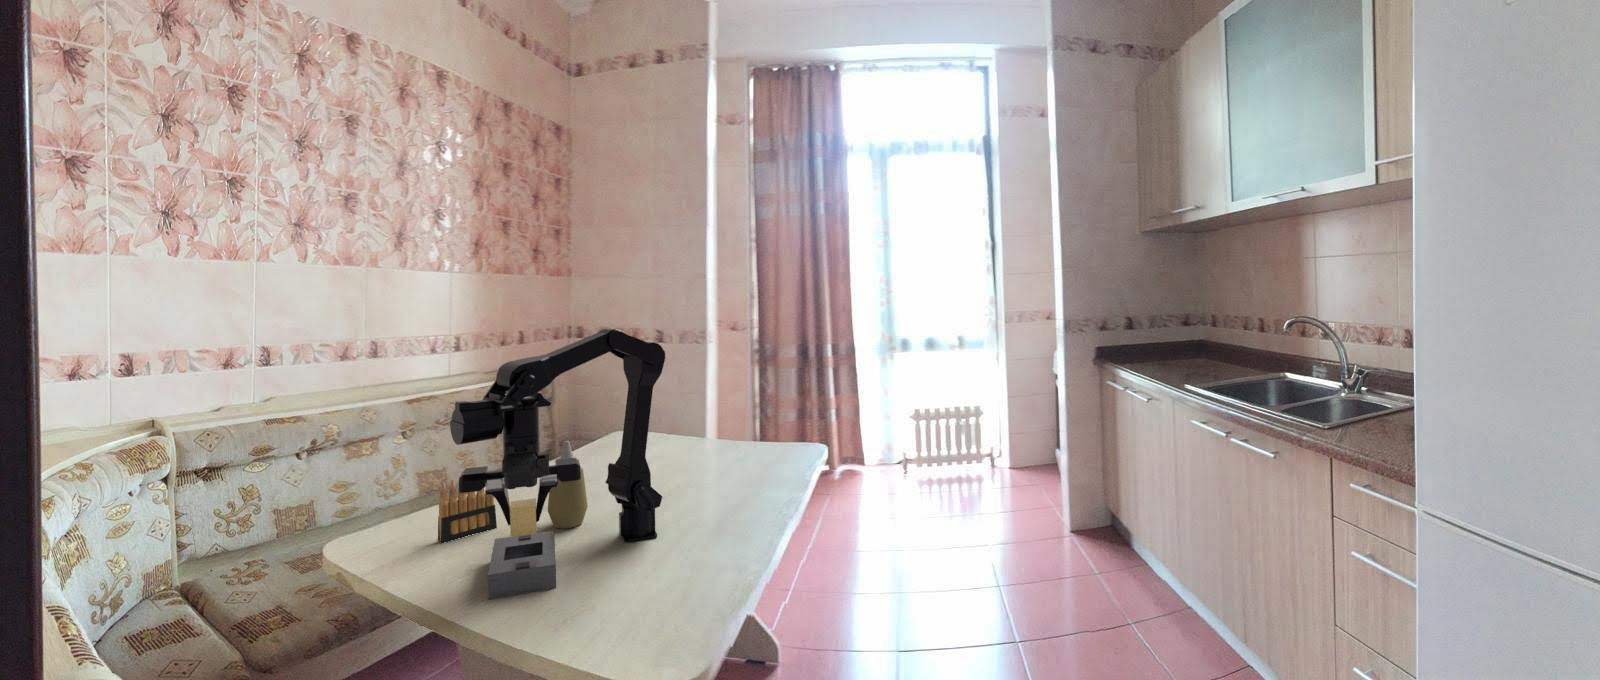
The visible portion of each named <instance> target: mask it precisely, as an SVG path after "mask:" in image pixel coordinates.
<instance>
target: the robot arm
mask: <svg viewBox="0 0 1600 680" xmlns="http://www.w3.org/2000/svg"><path fill="white" fill-rule="evenodd" d="M665 351H666V350H665V349H664V348H663V347H662V346H661V344H659V343H657V342H652V341H651V342H650V341H645V340H642V339H640V338H637V337H634V336H631V335H630V334H626V333H625V332H623V331H621V330H620V329H615V328H602V329H600V330H599V331H598V332H596V333H594V334H591V335H588V336H586V337H584V338H582V339H580V340H577V341H575V342H573V343H570V344H569V343H568V344H567V345H565V346H562V347H560V348H558V349H555V350H553V351H550V352H548V353H545V354H541V355H536V356H531V357H530V356H529V357H524V358H520V359H515V360H511V361H506V362H505V363H503V364H502V365H501V366H499V368H498V371H497V373H496V376H495V377H496V379H495V381H494V382H493V384H492V385H491V387H490V388H489V389H488V390H487V392H486V394H485V395H484V396H483V397H482V400H481V399H479V400H471V401H468V400H467V401H466V400H461V401H455V403H454V409H453V411H452V414H451V420H450V421H449V428H450V430H449V431H450V435H451V438H452V441H453V442H454V443H455V444H456V445H457V446H458V445H464V444H470V443H477V442H484V441H488V440H489V441H490V440H496V439H497V438H498V437H499V435H502V449H503V450H502V452H503V453H502V455H503V457H502V462H501V468H502V470H494V471H493V470H492V471H489V466H488V465H487V466H477V467H476V466H475V467H466V468H465V469H463V471H461V473H460V475H459V478H458V493H459V492H460V493H466V494H468V492H475V493H477V491H481V490H482V489H483V488H484V493H485V494H486V495H490V494H491V495H493V496H494V499H495V500H496V501H497V503H498V505H499V506H500V508H501V510H502V514H503V516H504V518H505V520H506V522H507V526H510V504H511V502H510V496H509V490H515V489H517V488H533V487H535V486H537V485H538V490H537V491H538V492H537V497H536V522H537V523H538V522H539V521H540V518H541V515H542V512H543V508H544V506H545V503H546V499H547V497H548V496H549V491H550V490H551V488H553V487H557V486H558V479H559V480H560V481H561V482H566V481H575V480H579V479H581V472H580V467H581V463H580V460H579V458H578V459H576V458H568V459H557V460H556V465H554V464H553V465H550V454H549V453H545V454H541V452H540V450H541V449H540V448H541V447H540V413H539V408H544V407H550V406H551V405H552V402H551V401H549V400H548V399H547V398H546V397H544V395H543V393H541V391H542V390H543V389H545V388H547V387H548V386H550V385H551V384H552V383H553V381H554V380H555V379H557V377H560V375H562V374H565V373H566V372H569V371H570V370H572V369H574V368H575V369H576V368H577V367H579V366H582V365H584V364H586V363H588V362H591V361H592V360H594V359H597V358H599V357H602V356H604V355H606V354H608V353H610V354H612V355H614V356H615V357H617V358H619V359H621V360H622V363H623V364H622V365H623V366H622V367H623V372H624V375H625V377H626V381H627V384H628V385H627V386H628V387H627V394H626V395H627V396H626V397H627V398H626V405H625V412H624V422H623V430H622V431H623V432H622V441H621V448H620V454H619V457H618V458H617V460H616V462H615V463H612V462H609V463H608V464H607V465H608V466H607V476H606V480H605V484H607V488H608V492H609V493H610V494H611V495H612V497H614V498H615V501H616V503H617V504H620V505H621V512H618V532H619V536H620V537H622V540H623V542H625V543H628V542H629V543H630V542H635V541H641V540H648V539H654V538H658V533H657V531H656V509H657V508H660V507H661V504H662V499H663V495H661V494H660V493H659V492H658V491H657V490H655V489H654V488H653V487H652V481H651V480H652V479H651V477H652V476H651V475H652V474H651V470H650V466H649V464H648V461H647V458H646V454H647V447H648V446H647V444H648V435H649V427H650V419H651V411H652V410H651V408H652V399H653V390H654V386H655V384H656V383H657V382H658V380H659V378H660V377H661V374H662V372H663V369H664V365H665V361H666V352H665ZM538 479H539V481H538Z"/></svg>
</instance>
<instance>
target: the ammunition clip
mask: <svg viewBox="0 0 1600 680" xmlns="http://www.w3.org/2000/svg"><path fill="white" fill-rule="evenodd" d="M449 483H450V484H449V488H448V491H449V495H448V494H447V493H448V492H447V487H446V484H445V482H444V481H442V482H441V484H440V488H439V501H438V516H437V517H438V521H437V522H438V523H437V542H439V543H440V544H442V543H443V544H445V543H444V542H446V543H449V542H448V541H450V542H452V541H451V540H453V541H456V540H455V539H457V540H459V539H458V538H460V539H463V538H462V537H464V538H466V537H465V536H468V535H471V536H473V535H472V534H475V535H477V534H476V533H478V534H481V533H480V532H482V533H485V532H488V531H487V530H489V531H491V529H492V530H496V529H497V528H498V526H497V523H498V522H497V515H496V514H497V513H496V504H495V497H494V496H493V495H491V494H490V495H486V494H485V487H484V488H483V489H482V490H481V491H476V492H467V493H460V492H459V491H458V497H457V486H456V483H455V481H454V479H451V481H450V482H449ZM495 528H496V529H495ZM484 531H485V532H484ZM468 537H469V536H468Z"/></svg>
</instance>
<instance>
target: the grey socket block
mask: <svg viewBox="0 0 1600 680" xmlns="http://www.w3.org/2000/svg"><path fill="white" fill-rule="evenodd" d="M555 543H556V541H555V531H554V530H550V531H541V532H537V533H536V534H531V535H524V536H517V537H511V536H505V537H498V538H494V543H493V548H492V552H491V558H490V563H489V568H488V573H487V587H488V588H487V590H488V591H487V593H488V594H487V596H488V597H487V598H488V600H489V601H490V600H493V599H500V598H506V597H511V596H517V595H522V594H528V593H534V592H539V591H544V590H546V591H547V590H551V589H557V568H556V567H557V561H556V545H555Z"/></svg>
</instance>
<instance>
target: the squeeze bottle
mask: <svg viewBox="0 0 1600 680" xmlns="http://www.w3.org/2000/svg"><path fill="white" fill-rule="evenodd" d="M568 458H576V459H578V460H579V456H577V455H574V454H573V450H572V447H571V443H570V440H564V441H563V442H562V447H561V453H560V455H559V456H558V457H557V458H555V459H554V462H555V463H554V464H555V465H556V460H557V459H568ZM580 472H581V479H579V480H575V481H566V482H561V481H560V480H559V479H558V486H557V487H553V488H551V490H550V491H549V493H548V499H547V513H548V515H549V517H550V520H551V523H552V525H553V527H554V528H556V529H570V528H571V529H572V528H574V527H578V526H580V525H582V524H583V522H584V520H585V516H586V513H587V510H588V507H589V505H588V497H587V491H586V481H585V474H584V468H583V467H582V466H580Z"/></svg>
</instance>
